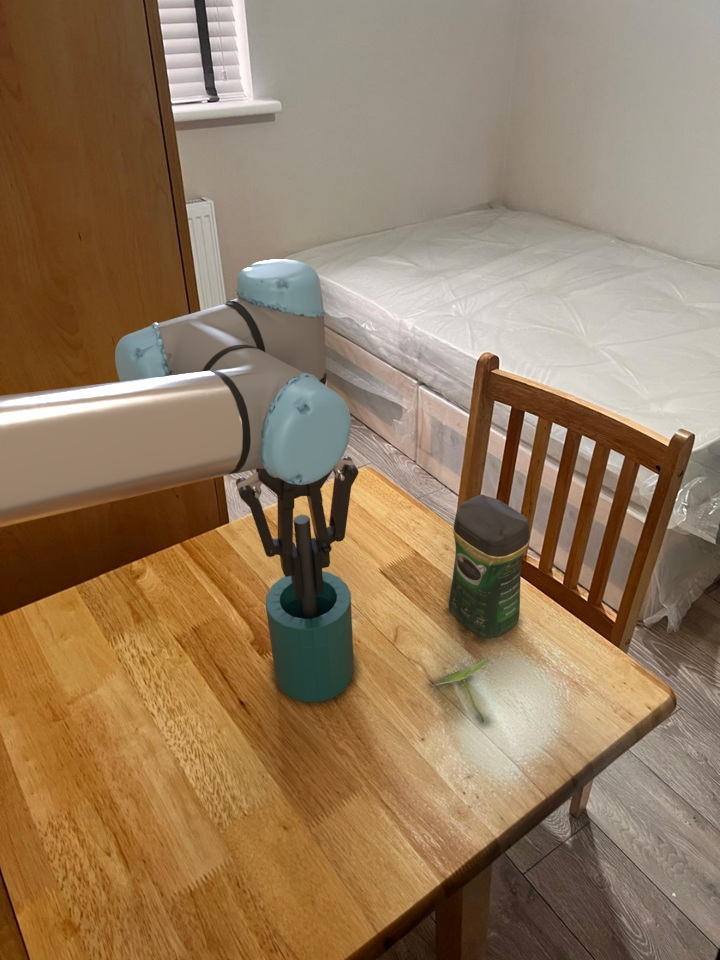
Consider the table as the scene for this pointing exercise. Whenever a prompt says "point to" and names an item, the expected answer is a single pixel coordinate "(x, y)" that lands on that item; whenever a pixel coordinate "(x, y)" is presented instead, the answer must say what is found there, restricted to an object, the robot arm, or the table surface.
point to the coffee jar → (488, 566)
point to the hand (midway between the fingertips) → (307, 589)
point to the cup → (311, 640)
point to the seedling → (463, 674)
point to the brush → (306, 565)
